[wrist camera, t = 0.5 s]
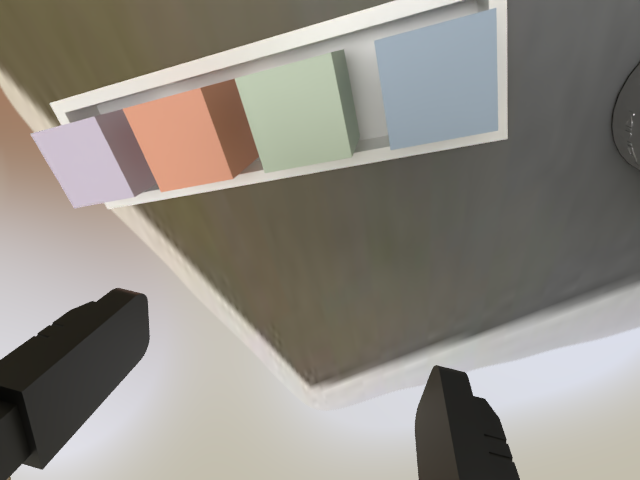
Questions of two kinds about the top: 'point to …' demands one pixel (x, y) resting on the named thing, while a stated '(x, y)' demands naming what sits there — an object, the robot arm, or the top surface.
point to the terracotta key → (194, 136)
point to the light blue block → (440, 80)
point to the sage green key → (301, 112)
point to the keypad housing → (340, 33)
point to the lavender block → (96, 159)
